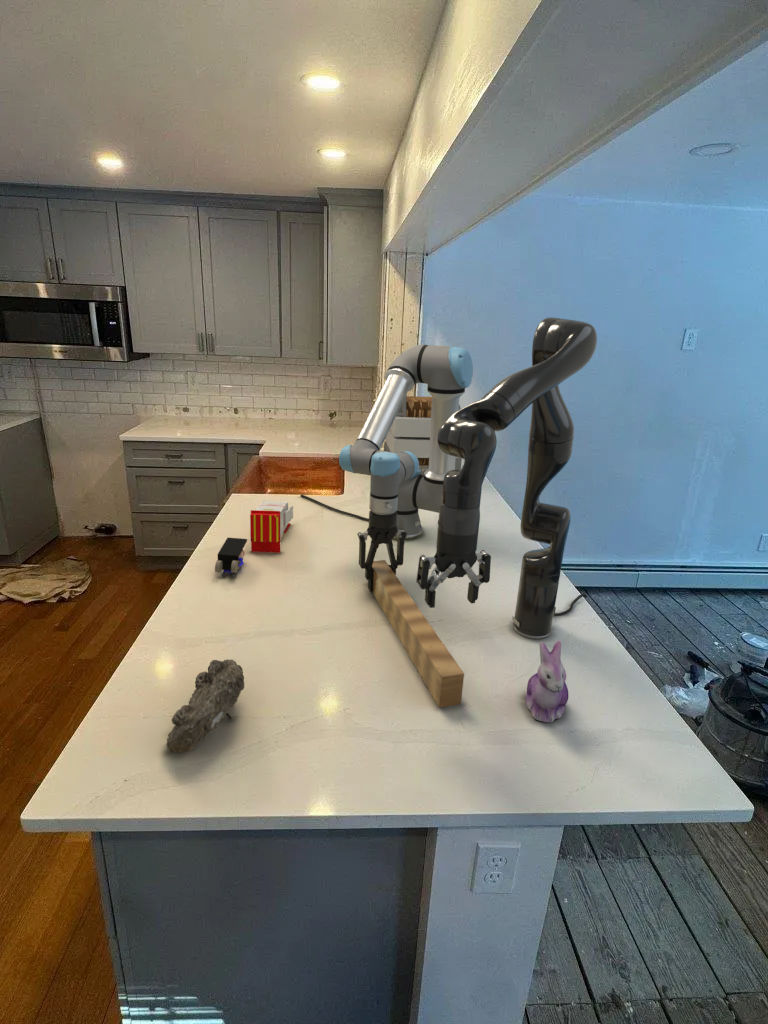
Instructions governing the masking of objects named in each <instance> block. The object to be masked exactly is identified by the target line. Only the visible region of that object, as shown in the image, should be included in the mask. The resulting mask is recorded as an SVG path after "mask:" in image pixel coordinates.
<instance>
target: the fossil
mask: <svg viewBox="0 0 768 1024" xmlns="http://www.w3.org/2000/svg"><path fill="white" fill-rule="evenodd" d="M243 670H244V669H243V667H242V665H240V664H237V662H236V661H235V660H234V659H232V658H231V659H227V658H226V659H224V660H223V661H222V660H217V659H212V660H211V661H210V663H209V665H208V666H207V671H201V672H199V673H198V674H197V675H196V676H195V680H194V684H195V685H194V687H195V689H194V690H193V693H192V694H191V697H190V698H189V700H188V704H184V705H182V706H181V707H180V709H177V710H176V711H175V713H174V715H173V716H172V718H171V723H172V724H173V727H172V730H171V731H170V732H168V734H167V738H166V741H167V742H166V745H167V749H168V750H169V751H173V752H174V753H176V754H178V753H182V752H188V751H189V752H192V751H193V750H195V748H196V747H197V746H199V744H200V743H201V742H203V741H204V740H205V739H206V738H207V737H208V736H209V735H210V734H211V733H212V732H214V730H215V729H217V727H218V726H219V724H220V722H221V721H222V720H223V719H224V718H225V716H226V717H227V719H229V720H233V717H232V715H230V714H229V710H230V709H231V708H234V706H235V704H236V703H237V702H238V699H239V697H240V695H241V693H242V691H243V690H245V689H244V688H245V675H244V671H243Z"/></svg>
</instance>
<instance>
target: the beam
mask: <svg viewBox="0 0 768 1024" xmlns="http://www.w3.org/2000/svg"><path fill="white" fill-rule="evenodd" d="M389 565H390V564H388V562H387V561H386V559H379V560H374V561H373V564H372V568H373V570H374V579H373V592H372V594H373V596H374V597H375V599H376V602H377V603H378V605H379V606H380V608H381V610H382V612H383V613H384V615H385V616H386V618H387V620H388V623H389V624H390V625H391V627H392V629H393V630H394V632H395V634H396V635H397V638H398V639H399V641H400V642H401V645H402V646H403V648H404V649H405V651H406V653H407V655H408V656H409V658H410V660H411V662H412V663H413V665H414V667H415V668H416V670H417V672H418V674H419V675H420V677H421V679H422V680H423V681H422V682H424V684H425V686H426V688H427V689H428V690H429V693H430V695H431V696H432V699H433V700H434V702H435V703H436V705H437V707H438V708H447V707H452V706H459V705H461V704H462V697H463V687H464V681H465V680H464V678H465V673H464V672H463V670H462V668H461V667H460V666H459V663H457V660H455V658H454V657H453V655H452V654H451V653H450V651H449V650H448V648H447V647H446V646H445V644H444V643H443V641H442V640H441V638H440V637H439V635H438V634H437V633H436V631H435V630H434V628H433V627H432V625H431V624H430V622H429V621H428V620H427V618H426V617H425V615H424V614H423V612H422V611H421V609H420V608H419V606H418V605H417V604H416V602H415V601H414V600H413V597H411V595H410V594H409V592H408V591H407V589H406V588H405V587H404V585H403V584H402V582H401V581H400V579H399V578H398V577H397V574H396V575H395V574H394V572H393V571H392V569H391V568H390V566H389Z"/></svg>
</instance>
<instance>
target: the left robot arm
mask: <svg viewBox="0 0 768 1024" xmlns="http://www.w3.org/2000/svg"><path fill="white" fill-rule="evenodd" d="M473 366H474V364H473V359H472V356H471V354H470V352H469V350H467V349H466V348H464V347H458V346H454V345H433V344H424V343H423V344H416V345H413V346H411V347H409V348H407V349H406V350H404V351H402V352H401V353H400V354H399V355H398V356H397V357H396V358H395V359H394V360H393V361H392V362H391V364H390V365H389V367H388V368H387V370H386V372H385V374H384V378H385V379H384V380H385V382H384V383H383V386H382V387H381V389H380V392H379V393H378V395H377V398H376V400H375V402H374V404H373V405H372V408H371V410H370V411H369V414H368V416H367V418H366V420H365V422H364V423H363V426H362V428H361V430H360V432H359V434H358V436H357V438H356V440H355V442H354V443H353V444H347V445H344V447H343V446H342V448H341V449H340V452H339V456H338V464H339V466H340V468H341V469H342V470H343V471H346V472H349V473H351V474H357V475H359V474H360V475H364V476H365V475H366V476H370V479H369V480H370V483H369V484H370V485H369V487H370V488H369V504H368V505H369V506H368V507H369V512H368V513H369V514H368V517H364V516H361V515H358V514H355V513H351V512H348V511H344V510H341V509H338V508H335V507H333V506H330V505H328V504H326V503H323V502H320V501H319V500H317V499H314V498H313V497H309V496H307V495H304V494H300V497H301V498H303V499H306V500H309V501H311V502H313V503H316V504H318V505H319V506H321V507H324V508H326V509H329V510H330V511H331V510H332V511H334V512H336V513H339V514H343V515H346V516H350V517H354V518H356V519H360V520H361V521H366V522H368V527H367V529H366V531H363V532H361V531H360V532H357V534H356V535H357V538H358V565H359V568H360V569H362V570H363V569H364V577H365V580H366V581H367V588H368V590H369V592H370V593H373V579H374V570H373V568H372V564H373V561H375V558H376V555H377V551H378V549H379V547H380V545H382V544H385V545H386V550H387V555H388V559H389V564H388V565H389V566H390V568H391V569H392V571H393V572H394V574H395V575H396V576H397V569H398V568H399V567H398V566H403V565H404V556H405V541H410V540H415V539H418V538H420V537H421V536H422V535H423V525H422V523H421V518H420V515H419V510H423V511H428V512H434V513H437V514H439V512H440V507H441V502H442V489H443V480H444V476H445V474H446V473H447V472H448V471H450V470H455V459H456V457H454V456H451V455H448V454H446V453H444V452H443V451H442V450H441V449H440V448H439V446H438V442H437V435H438V431H439V429H440V427H441V425H442V424H443V422H444V421H445V420H446V419H447V418H448V417H449V416H451V415H452V414H453V413H455V412H457V411H459V405H460V398H461V397H462V395H464V394H465V393H466V388H469V387H470V386H471V384H472V382H473V381H472V380H473V376H474V375H473V373H474V367H473ZM416 384H425V385H427V392H428V393H429V395H430V397H432V408H431V430H430V452H429V465H428V468H427V469H426V470H424V472H423V474H422V470H421V468H419V467H420V466H419V461H418V459H417V457H416V455H414V454H413V453H412V452H409V451H404V452H403V451H402V452H399V453H393V452H387V451H384V450H381V449H382V448H383V447H382V446H384V442H385V438H386V436H387V434H388V432H389V430H390V428H391V426H392V424H393V422H394V420H395V417H396V415H397V413H398V411H399V409H400V407H401V405H402V403H403V401H404V399H405V396H406V394H408V393H409V392H411V391H412V390H413V389H414V387H415V385H416ZM368 537H370V545H369V549H368V551H367V542H366V541H367V540H368ZM393 540H395V541H396V555H395V550H394V544H393ZM367 552H368V553H367ZM366 553H367V556H366Z"/></svg>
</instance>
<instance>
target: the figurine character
mask: <svg viewBox="0 0 768 1024" xmlns="http://www.w3.org/2000/svg"><path fill="white" fill-rule="evenodd" d="M247 542H248V538H240V537H226V539H225V541H224V543H223V544H222V546H221V547H220V549H219V551H218V552H217V560H216V562H215V564H214V572H215V573H221V577H222V578H224V577H225V576H226V574H227V573H230V574H231V573H232V574H231V578H234V577H235V575H236V573H237V572H239V571H240V567H242V566H243V565H244V564H245V562H244V558H245V551H244V547H245V546H246V544H247Z"/></svg>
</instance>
